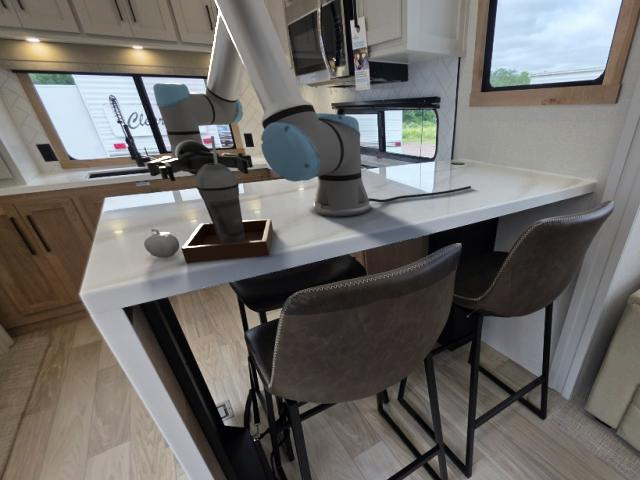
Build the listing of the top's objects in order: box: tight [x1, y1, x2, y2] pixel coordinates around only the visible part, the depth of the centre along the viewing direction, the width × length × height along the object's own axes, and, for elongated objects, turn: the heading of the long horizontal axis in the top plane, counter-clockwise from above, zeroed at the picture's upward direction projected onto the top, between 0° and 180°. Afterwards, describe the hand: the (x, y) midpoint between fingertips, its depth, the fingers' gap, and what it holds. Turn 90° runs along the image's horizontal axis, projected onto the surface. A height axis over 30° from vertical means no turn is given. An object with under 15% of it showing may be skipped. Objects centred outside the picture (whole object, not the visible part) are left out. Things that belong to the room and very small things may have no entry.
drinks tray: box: [180, 218, 274, 264], centre depth 68 cm, size 15×15×3 cm
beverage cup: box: [195, 135, 245, 244], centre depth 63 cm, size 7×7×20 cm
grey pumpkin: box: [143, 228, 180, 259], centre depth 63 cm, size 6×5×5 cm
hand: (210, 170), depth 66 cm, fingers open, 13 cm apart
